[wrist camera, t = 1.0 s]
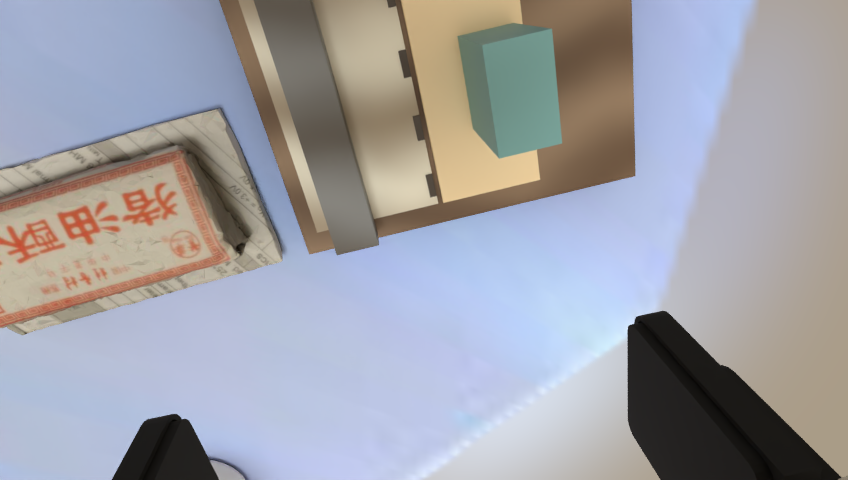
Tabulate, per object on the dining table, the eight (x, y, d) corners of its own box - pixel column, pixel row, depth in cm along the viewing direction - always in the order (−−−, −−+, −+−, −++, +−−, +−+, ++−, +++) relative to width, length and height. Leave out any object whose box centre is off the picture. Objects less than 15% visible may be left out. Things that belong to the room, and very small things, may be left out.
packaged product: (-21, 372, 29) (-150, 221, 25) (28, 324, 34) (-74, 189, 29) (276, 288, 29) (199, 120, 25) (288, 250, 33) (224, 102, 29)
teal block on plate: (392, -38, 25) (402, -50, 19) (509, -66, 25) (554, -86, 19) (442, 200, 31) (461, 246, 25) (537, 177, 31) (578, 218, 25)
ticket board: (216, -29, 26) (195, -34, 22) (614, -123, 26) (650, -140, 23) (311, 243, 33) (306, 270, 30) (624, 168, 33) (652, 187, 30)
